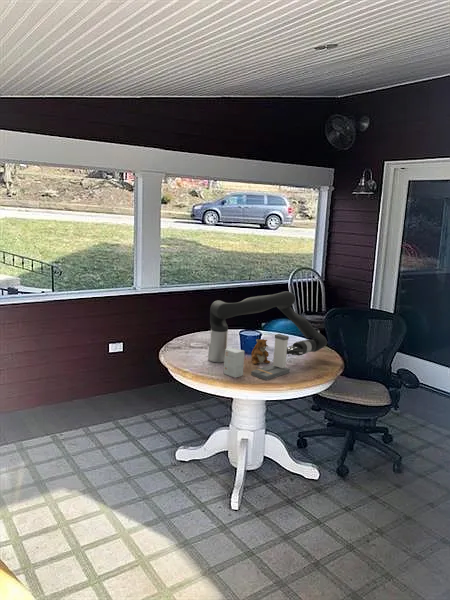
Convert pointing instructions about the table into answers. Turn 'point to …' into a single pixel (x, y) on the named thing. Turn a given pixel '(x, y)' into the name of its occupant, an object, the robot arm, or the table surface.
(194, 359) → the table surface
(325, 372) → the table surface
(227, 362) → the small box
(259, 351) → the stuffed squirrel
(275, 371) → the fader panel
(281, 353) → the grey tall block
